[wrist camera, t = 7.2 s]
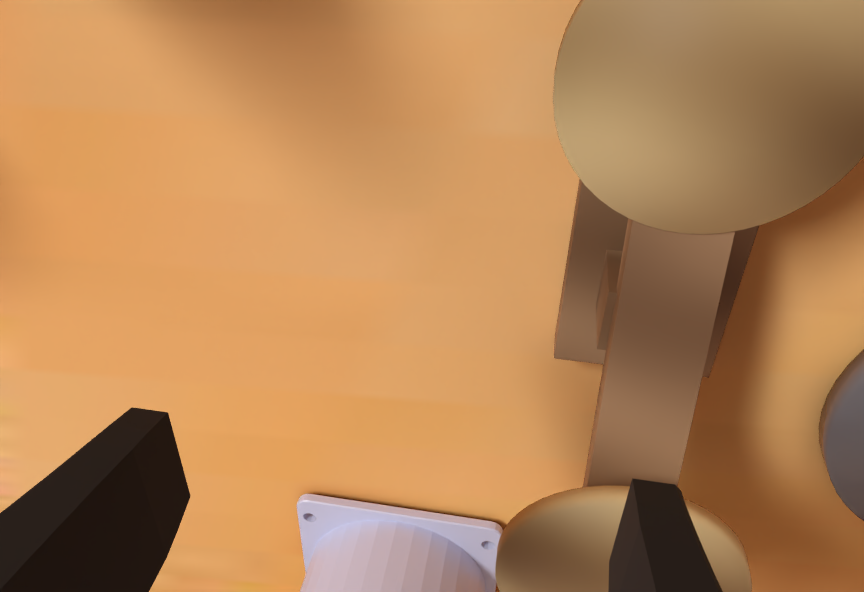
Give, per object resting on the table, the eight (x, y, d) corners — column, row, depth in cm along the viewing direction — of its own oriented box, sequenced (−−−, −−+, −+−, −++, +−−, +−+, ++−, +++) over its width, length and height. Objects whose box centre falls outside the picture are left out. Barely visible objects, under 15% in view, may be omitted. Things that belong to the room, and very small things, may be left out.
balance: (690, 494, 26) (715, 670, 21) (505, 467, 26) (487, 631, 21) (905, -108, 15) (1068, -37, 10) (577, -124, 15) (574, -64, 10)
